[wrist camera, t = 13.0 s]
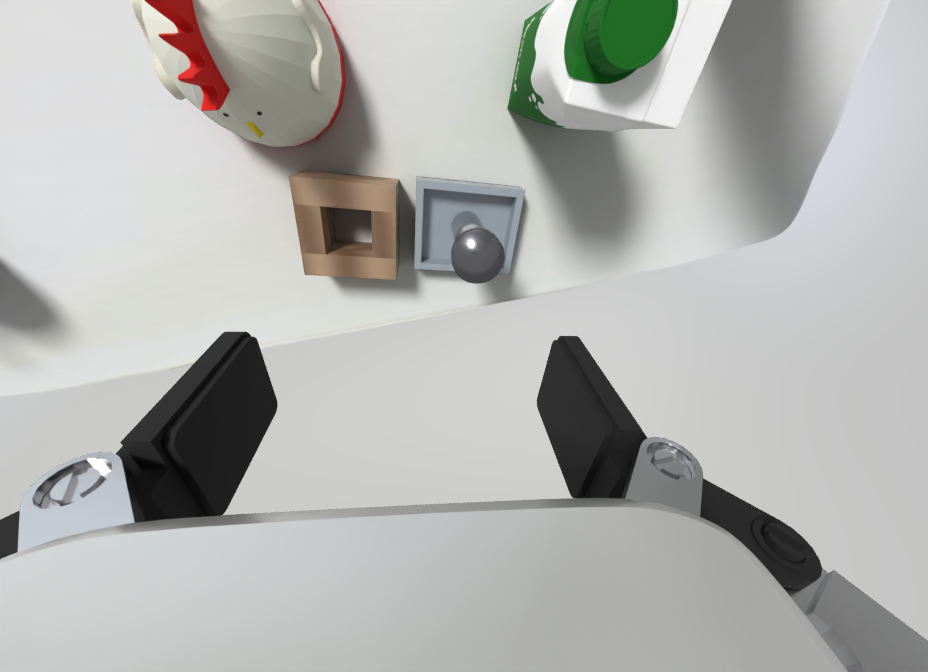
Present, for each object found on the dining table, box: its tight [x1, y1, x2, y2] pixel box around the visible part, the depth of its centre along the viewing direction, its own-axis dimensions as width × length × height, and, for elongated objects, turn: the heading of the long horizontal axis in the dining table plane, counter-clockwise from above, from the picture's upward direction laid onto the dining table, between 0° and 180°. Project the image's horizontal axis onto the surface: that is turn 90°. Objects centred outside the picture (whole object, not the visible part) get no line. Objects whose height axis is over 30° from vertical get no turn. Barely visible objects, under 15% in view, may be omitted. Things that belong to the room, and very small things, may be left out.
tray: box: [414, 176, 525, 275], centre depth 39 cm, size 12×10×2 cm
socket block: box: [289, 170, 399, 280], centre depth 37 cm, size 10×10×5 cm
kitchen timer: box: [131, 0, 345, 147], centre depth 24 cm, size 14×14×15 cm
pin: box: [451, 211, 505, 283], centre depth 35 cm, size 5×5×11 cm
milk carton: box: [508, 0, 732, 132], centre depth 25 cm, size 9×9×20 cm
